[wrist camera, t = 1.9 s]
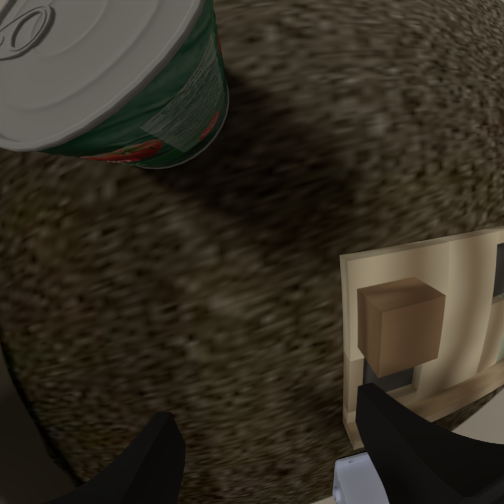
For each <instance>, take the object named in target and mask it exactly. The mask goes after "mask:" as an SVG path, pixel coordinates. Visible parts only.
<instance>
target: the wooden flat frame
mask: <svg viewBox="0 0 504 504" xmlns="http://www.w3.org/2000/svg"><path fill="white" fill-rule="evenodd" d="M340 267H341V283H342V302H343V330H344V391H343V419H342V421H343V424H344V426H345V429H346V431H347V434H348V436H349V439H350V441H351V444H352V447H353V449H354V450H355V449H358V448H362V447H364V445H363V443H362V440H361V437H360V435H359V432H358V428H357V425H356V422H355V417H356V404H357V390H358V386H360V385H364V384H368V383H371V382H373V383H374V384H376V385H377V386H378V387H379V388H381V389H382V390H383V391H385V392H386V393H387V394H389V395H390V396H391V397H393V398H394V399H395V400H397V401H398V402H399V403H401V404H402V405H404V406H405V407H407V408H408V409H410V410H411V411H413V412H414V413H416V414H417V415H419V416H421V417H422V418H424V419H426V420H428V421H429V422H433V421H435V420H438V419H440V418H442V417H444V416H446V415H448V414H451V413H453V412H455V411H457V410H459V409H461V408H463V407H464V406H466V405H468V404H470V403H472V402H474V401H476V400H478V399H479V398H481V397H483V396H485V395H486V394H488V393H490V392H491V391H493V390H495V389H496V388H498V387H500V386H501V385H503V384H504V226H499V227H494V228H489V229H484V230H479V231H473V232H468V233H463V234H458V235H452V236H447V237H442V238H436V239H431V240H425V241H420V242H414V243H409V244H403V245H397V246H392V247H386V248H380V249H374V250H369V251H363V252H357V253H351V254H345V255H340ZM409 277H416V278H418V279H419V280H421V281H423V282H424V283H426V284H428V285H429V286H431V287H433V288H435V289H436V290H438V291H440V292H441V293H443V294H444V295H446V299H445V310H444V319H443V327H442V334H441V340H440V347H439V353H438V358H437V359H434V360H431V361H429V362H426V363H423V364H420V365H418V366H415V367H412V368H409V369H406V370H403V371H400V372H397V373H393V374H390V375H387V376H384V377H380V378H378V377H377V375H376V374H375V372H374V371H373V369H372V368H371V366H370V365H369V363H368V362H367V360H366V359H365V357H364V356H363V354H362V353H361V352H360V350H359V349H358V312H357V289H358V288H363V287H368V286H373V285H378V284H382V283H387V282H392V281H396V280H401V279H405V278H409Z"/></svg>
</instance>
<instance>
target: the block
mask: <svg viewBox="0 0 504 504" xmlns="http://www.w3.org/2000/svg"><path fill="white" fill-rule="evenodd" d="M445 299H446V295H444V294H443V293H441V292H440V291H438V290H436V289H435V288H433V287H431V286H429V285H428V284H426V283H424V282H423V281H421V280H419V279H418V278H416V277H409V278H405V279H401V280H396V281H392V282H387V283H382V284H378V285H373V286H368V287H363V288H358V289H357V312H358V349H359V350H360V352H361V353H362V354H363V356H364V357H365V359H366V360H367V362H368V363H369V365H370V366H371V368H372V369H373V371H374V372H375V374H376V375H377V377H378V378H380V377H384V376H387V375H390V374H393V373H397V372H400V371H403V370H406V369H409V368H412V367H415V366H418V365H420V364H423V363H426V362H429V361H431V360H434V359H437V358H438V353H439V347H440V340H441V334H442V327H443V319H444V310H445Z"/></svg>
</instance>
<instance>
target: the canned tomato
mask: <svg viewBox="0 0 504 504" xmlns="http://www.w3.org/2000/svg"><path fill="white" fill-rule="evenodd" d="M228 107H229V89H228V85H227V81H226V74H225V69H224V65H223V59H222V52H221V45H220V42H219V35H218V30H217V24H216V17H215V13H214V9H213V0H7V1H6V2H5V4H4V5H3V7H2V8H1V9H0V147H1V148H4V149H8V150H12V151H15V152H29V151H37V152H44V153H49V154H53V155H54V154H61V155H64V156H74V157H78V158H87V159H95V160H99V161H106V162H113V163H120V164H126V165H132V166H138V167H141V168H146V169H164V168H171V167H174V166H177V165H180V164H183V163H185V162H187V161H189V160H191V159H193V158H195V157H196V156H197V155H199V154H200V153H201V152H203V151H204V150H205V149H206V148H207V147H208V146H209V145H210V144H211V143H212V142H213V141H214V140H215V138H216V137H217V135H218V134H219V132H220V130H221V129H222V127H223V124H224V122H225V119H226V117H227V113H228Z"/></svg>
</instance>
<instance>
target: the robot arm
mask: <svg viewBox="0 0 504 504" xmlns="http://www.w3.org/2000/svg"><path fill="white" fill-rule="evenodd" d="M355 422H356V425H357V428H358V432H359V435H360V437H361V440H362V443H363V445H364V447H365V449H366V451H367V452H364V453H360V454H357V455H353V456H350V457H346V458H342V459H339V460H337V461H336V462H335V472H334V484H333V496H334V499H335V502H336V504H504V444H495V443H489V442H484V441H479V440H475V439H472V438H468V437H465V436H462V435H459V434H456V433H453V432H451V431H448V430H446V429H444V428H442V427H439V426H437V425H435V424H433V423H431V422H429V421H428V420H426V419H424V418H422V417H421V416H419V415H417V414H416V413H414V412H413V411H411V410H410V409H408V408H407V407H405V406H404V405H402V404H401V403H399V402H398V401H397V400H395V399H394V398H393V397H391V396H390V395H389V394H387V393H386V392H385V391H383V390H382V389H381V388H379V387H378V386H377V385H376V384H374V383H373V382H371V383H368V384H364V385H360V386H358V390H357V404H356V417H355ZM185 449H186V444H185V442H184V440H183V438H182V436H181V433H180V431H179V429H178V427H177V425H176V422H175V420H174V418H173V416H172V413H171V412H157V413H156V414H155V415H154V416H153V418H152V419H151V420H150V421H149V422H148V423H147V425H146V426H145V427H144V428H143V429H142V431H141V432H140V433H139V434H138V435H137V437H136V438H135V439H134V440H133V441H132V442H131V443H130V444H129V446H128V447H127V448H126V449H125V450H124V451H123V452H122V453H121V454H120V455H119V456H118V457H117V458H116V459H115V460H114V461H113V462H112V463H111V464H110V465H109V466H107V467H106V468H105V469H104V470H103V471H101V472H100V473H99V474H98V475H96V476H95V477H94V478H92V479H91V480H89V481H88V482H86V483H85V484H83V485H81V486H80V487H78V488H77V489H75V490H73V491H71V492H69V493H67V494H65V495H63V496H61V497H59V498H57V499H54V500H52V501H49V502H46V503H43V504H177V500H178V495H179V490H180V486H181V481H182V476H183V471H184V465H185Z"/></svg>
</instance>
